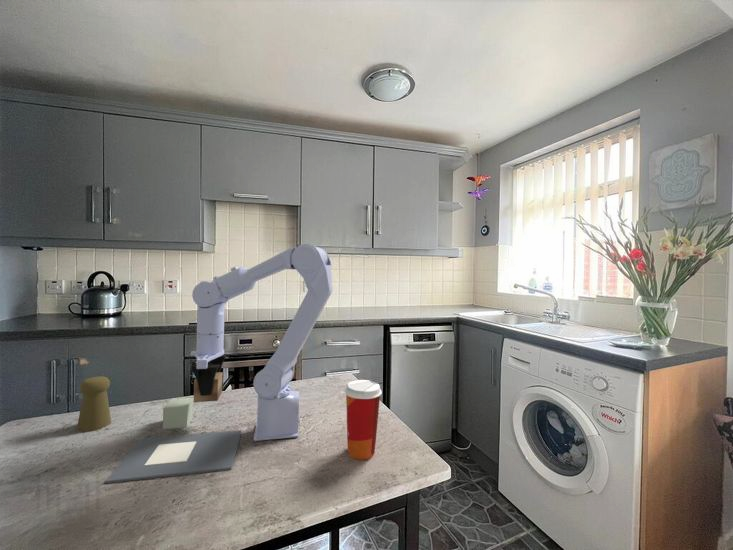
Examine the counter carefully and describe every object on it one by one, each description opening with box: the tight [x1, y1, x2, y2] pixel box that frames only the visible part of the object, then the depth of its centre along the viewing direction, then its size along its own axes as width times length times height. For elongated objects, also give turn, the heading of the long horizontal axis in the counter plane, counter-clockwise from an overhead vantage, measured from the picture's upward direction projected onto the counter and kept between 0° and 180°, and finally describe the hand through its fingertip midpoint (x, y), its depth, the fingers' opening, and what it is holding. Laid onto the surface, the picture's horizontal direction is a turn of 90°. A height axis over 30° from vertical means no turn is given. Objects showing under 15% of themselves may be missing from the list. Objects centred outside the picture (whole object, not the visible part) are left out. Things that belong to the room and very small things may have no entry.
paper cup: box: [344, 379, 383, 461], centre depth 66 cm, size 8×8×14 cm
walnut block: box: [193, 371, 224, 403], centre depth 75 cm, size 5×5×5 cm
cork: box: [76, 375, 112, 433], centre depth 73 cm, size 6×6×11 cm
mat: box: [104, 429, 243, 484], centre depth 63 cm, size 20×14×1 cm
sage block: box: [162, 397, 194, 430], centre depth 76 cm, size 5×5×5 cm
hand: (209, 390), depth 75 cm, fingers closed on walnut block, 5 cm apart
